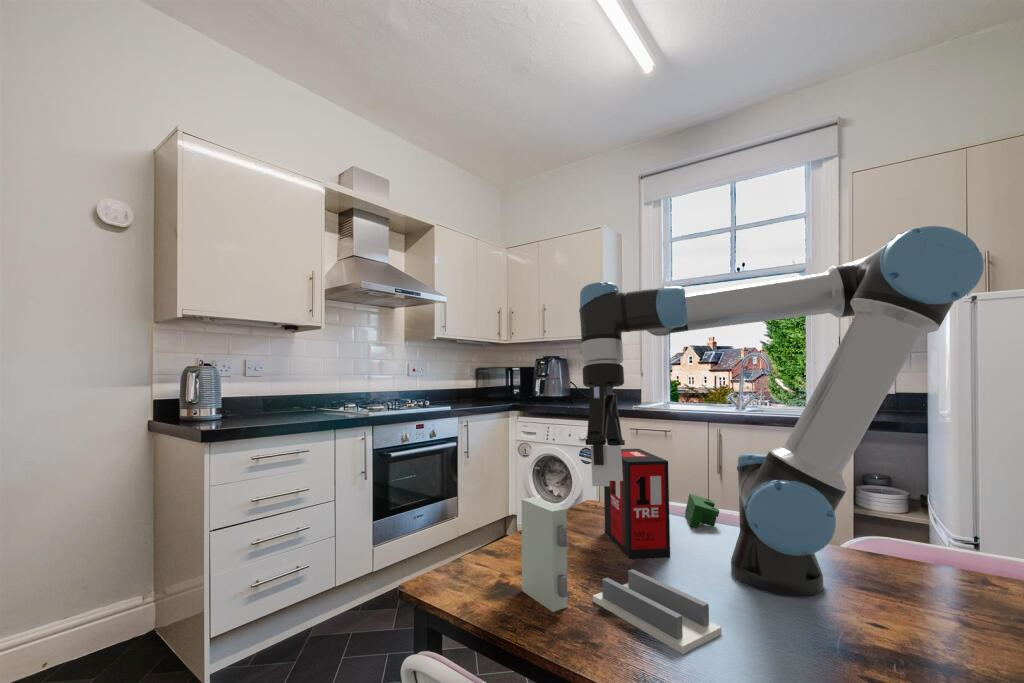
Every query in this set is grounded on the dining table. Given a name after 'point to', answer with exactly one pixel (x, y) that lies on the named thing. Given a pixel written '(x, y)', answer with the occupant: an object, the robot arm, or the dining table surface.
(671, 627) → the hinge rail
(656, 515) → the cleaning product box
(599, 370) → the robot arm
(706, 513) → the clamp
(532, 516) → the door
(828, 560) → the dining table surface
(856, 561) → the dining table surface
